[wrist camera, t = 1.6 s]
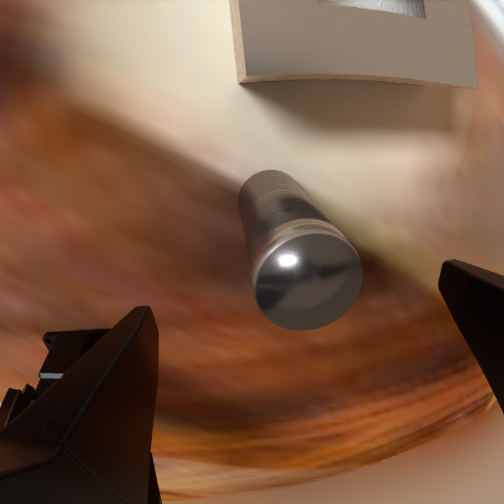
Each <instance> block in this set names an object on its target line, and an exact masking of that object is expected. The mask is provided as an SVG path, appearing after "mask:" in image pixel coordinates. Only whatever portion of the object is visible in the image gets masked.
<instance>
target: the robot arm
mask: <svg viewBox="0 0 504 504" xmlns="http://www.w3.org/2000/svg"><path fill="white" fill-rule="evenodd" d="M438 287H439V291H440V293H441V295H442V297H443V298H444V300H445V302H446V304H447V306H448V308H449V310H450V312H451V315H452V317H453V319H454V321H455V323H456V325H457V327H458V328H459V330H460V332H461V334H462V335H463V337H464V339H465V340H466V342H467V344H468V346H469V347H470V349H471V351H472V353H473V354H474V356H475V358H476V360H477V362H478V364H479V365H480V367H481V369H482V371H483V373H484V375H485V377H486V379H487V381H488V383H489V385H490V386H491V388H492V390H493V392H494V395H495V397H496V399H497V401H498V403H499V405H500V407H501V409H502V411H503V414H504V276H503V275H500V274H497V273H494V272H491V271H488V270H485V269H482V268H480V267H477V266H474V265H471V264H468V263H465V262H462V261H459V260H456V259H452V260H447V261H445V262H444V263H443V264H442V268H441V273H440V277H439V282H438ZM43 341H44V343H45V345H46V347H47V349H48V350H49V353H48V355H47V357H46V359H45V361H44V363H43V366H42V368H41V370H40V372H39V375H38V376H39V378H40V381H39V383H38V385H37V388H36V390H35V388H33V387H32V386H30V385H29V384H28V383H27V384H26V385H25V387H24V388H23V390H22V391H21V390H19V389H18V390H16V389H12V388H9V389H8V391H7V393H6V395H5V397H4V399H3V402H2V404H1V406H0V504H162V501H161V496H160V492H159V487H158V482H157V478H156V473H155V467H154V462H153V457H152V453H151V441H152V431H153V421H154V412H155V403H156V395H157V386H158V347H159V333H158V328H157V325H156V322H155V319H154V316H153V313H152V310H151V308H150V307H149V306H138V307H135V308H134V309H132V310H131V311H130V312H129V313H128V314H127V315H126V316H125V317H124V318H123V319H122V320H120V321H119V322H118V323H117V324H116V325H115V326H114V327H113V328H112V329H99V330H83V331H63V332H46V333H45V335H44V336H43Z"/></svg>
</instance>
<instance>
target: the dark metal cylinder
mask: <svg viewBox="0 0 504 504" xmlns="http://www.w3.org/2000/svg"><path fill="white" fill-rule="evenodd" d="M238 204H239V210H240V215H241V220H242V225H243V230H244V235H245V240H246V245H247V250H248V255H249V260H250V265H251V268H250V269H251V279H252V284H253V289H254V294H255V299H256V302H257V304H258V306H259V308H260V309H261V310H262V312H263V313H264V315H265V316H266V317H267V318H268V319H269V320H270V321H272V322H273V323H275V324H276V325H278V326H280V327H283V328H286V329H291V330H311V329H316V328H319V327H322V326H325V325H327V324H330V323H331V322H333V321H335V320H337V319H338V318H339V317H341V316H342V315H343V314H344V313H345V312H347V310H348V309H349V308H350V307H351V306H352V305H353V303H354V302H355V300H356V299H357V297H358V295H359V293H360V290H361V287H362V282H363V268H362V265H361V261H360V258H359V255H358V253H357V252H356V250H355V249H354V247H353V246H352V245H351V244H350V243H349V241H348V240H347V239H346V238H345V237H344V235H343V234H342V233H341V232H340V231H339V230H338V229H337V228H336V227H334V226H333V225H332V223H331V222H330V221H329V220H328V219H327V217H326V216H325V215H324V214H323V213H322V212H321V210H320V209H319V208H318V207H317V206H316V205H315V203H314V202H313V201H312V200H311V199H310V198H309V197H308V195H307V194H306V193H305V192H304V191H303V190H302V189H301V188H300V186H299V185H298V184H297V183H296V182H295V181H294V180H293V179H292V178H291V177H290V176H289V175H287V174H285V173H283V172H281V171H276V170H266V171H261V172H259V173H256V174H254V175H253V176H251V177H250V178H249V179H248V180H247V181H246V182H245V183H244V185H243V186H242V188H241V190H240V193H239V199H238Z"/></svg>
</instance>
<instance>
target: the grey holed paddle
mask: <svg viewBox="0 0 504 504" xmlns="http://www.w3.org/2000/svg"><path fill="white" fill-rule="evenodd" d="M229 2H230V11H231V20H232V30H233V39H234V49H235V58H236V68H237V77H238V84H239V83H250V82H263V81H280V80H310V79H337V80H366V81H383V82H395V83H406V84H415V85H424V86H442V87H456V88H466V89H476V90H477V74H476V59H475V48H474V39H473V31H472V24H471V17H470V11H469V5H468V0H229Z"/></svg>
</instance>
